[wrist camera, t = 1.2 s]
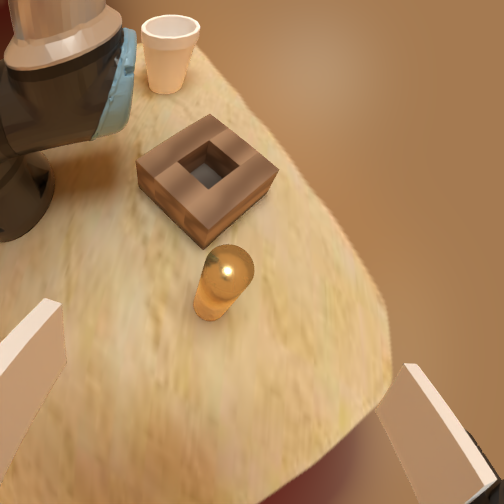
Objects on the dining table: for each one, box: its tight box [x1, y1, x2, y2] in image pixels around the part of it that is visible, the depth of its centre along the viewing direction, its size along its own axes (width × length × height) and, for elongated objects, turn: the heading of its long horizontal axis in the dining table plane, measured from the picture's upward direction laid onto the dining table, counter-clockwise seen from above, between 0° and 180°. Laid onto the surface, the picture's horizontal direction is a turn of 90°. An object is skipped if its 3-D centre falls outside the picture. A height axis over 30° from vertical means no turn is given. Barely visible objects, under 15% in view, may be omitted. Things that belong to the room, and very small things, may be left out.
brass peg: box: [193, 244, 254, 321], centre depth 31 cm, size 4×4×14 cm
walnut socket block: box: [136, 114, 279, 250], centre depth 40 cm, size 13×13×6 cm
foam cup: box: [141, 15, 200, 94], centre depth 44 cm, size 10×9×13 cm
